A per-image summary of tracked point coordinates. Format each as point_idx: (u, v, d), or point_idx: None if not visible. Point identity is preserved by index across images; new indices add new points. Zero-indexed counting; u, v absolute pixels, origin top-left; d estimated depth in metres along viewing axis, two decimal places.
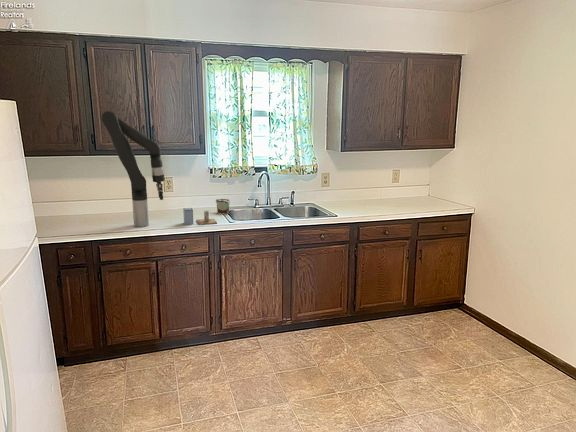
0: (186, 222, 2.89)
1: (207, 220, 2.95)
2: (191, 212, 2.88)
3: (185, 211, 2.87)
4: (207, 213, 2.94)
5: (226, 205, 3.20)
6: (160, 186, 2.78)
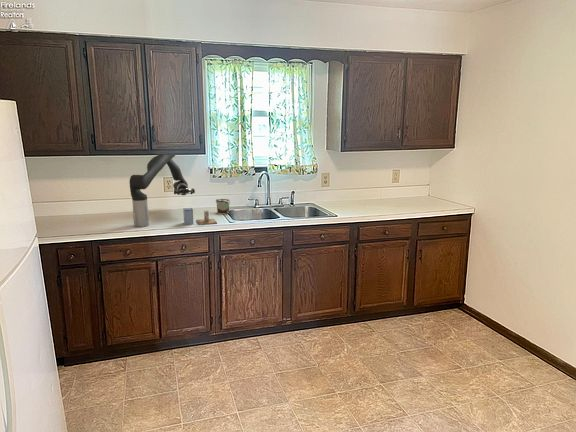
0: (186, 222, 2.89)
1: (207, 220, 2.95)
2: (191, 212, 2.88)
3: (185, 211, 2.87)
4: (207, 213, 2.94)
5: (226, 205, 3.20)
6: None
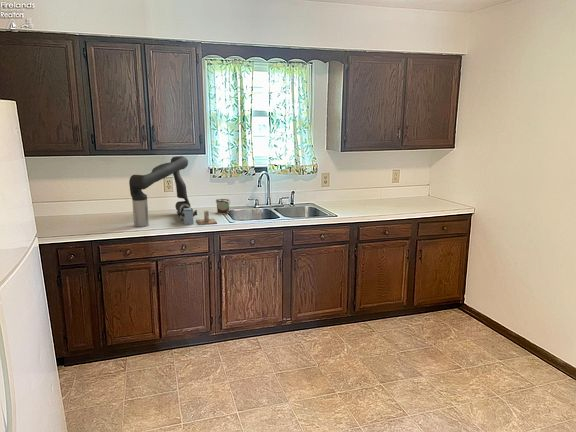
0: (186, 222, 2.89)
1: (207, 220, 2.95)
2: (191, 212, 2.88)
3: (185, 211, 2.87)
4: (207, 213, 2.94)
5: (226, 205, 3.20)
6: None
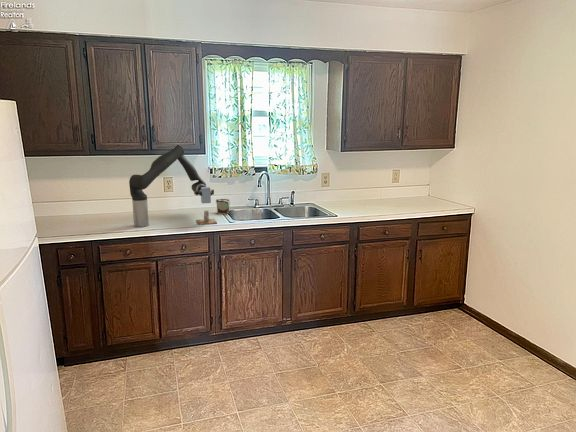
0: (203, 201, 2.90)
1: (207, 220, 2.95)
2: (208, 191, 2.89)
3: (203, 190, 2.88)
4: (207, 213, 2.94)
5: (226, 205, 3.20)
6: None
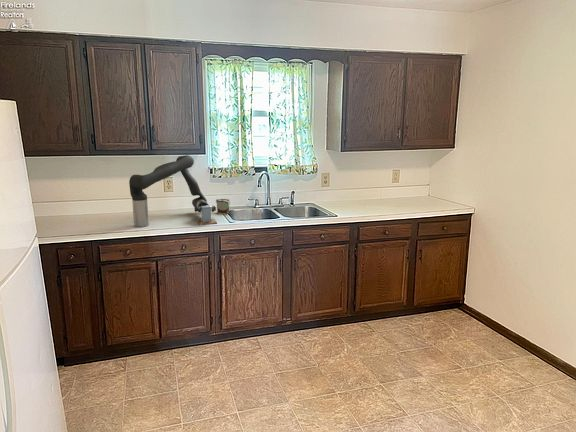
0: (204, 220, 2.92)
1: None
2: (209, 210, 2.92)
3: (203, 209, 2.91)
4: None
5: (226, 205, 3.20)
6: None
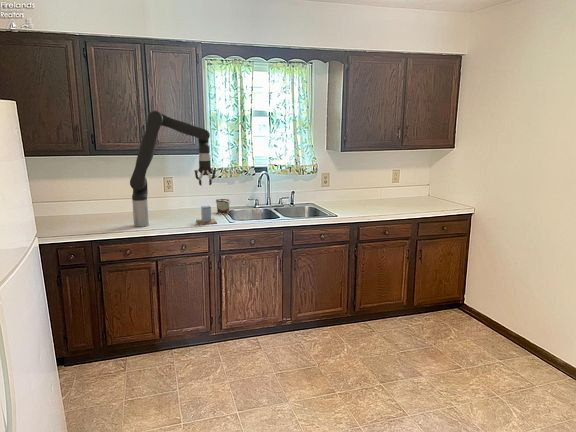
0: (204, 220, 2.92)
1: None
2: (209, 210, 2.92)
3: (203, 209, 2.91)
4: None
5: (226, 205, 3.20)
6: (214, 171, 2.91)
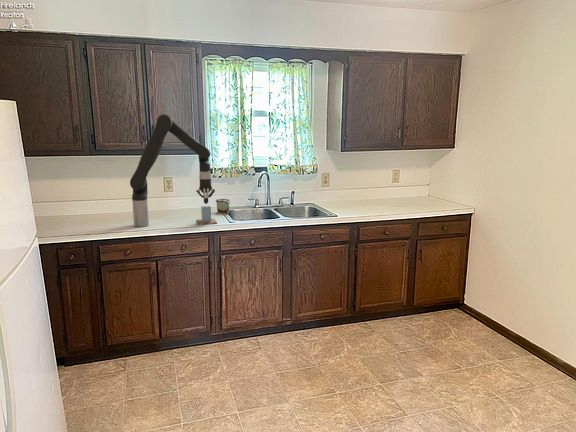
0: (204, 220, 2.92)
1: None
2: (209, 210, 2.92)
3: (203, 209, 2.91)
4: None
5: (226, 205, 3.20)
6: None
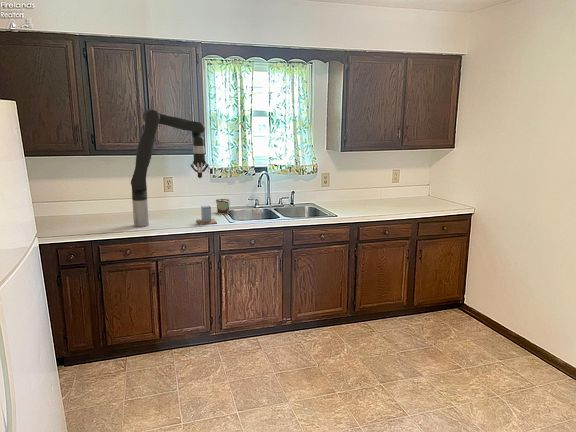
0: (204, 220, 2.92)
1: None
2: (209, 210, 2.92)
3: (203, 209, 2.91)
4: None
5: (226, 205, 3.20)
6: (207, 166, 2.99)
